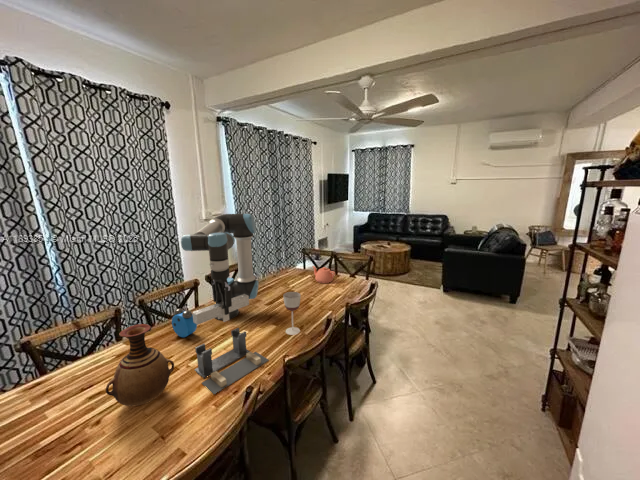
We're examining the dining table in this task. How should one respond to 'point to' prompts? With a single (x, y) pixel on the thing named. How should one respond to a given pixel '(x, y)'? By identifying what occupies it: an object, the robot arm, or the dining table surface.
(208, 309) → the rail
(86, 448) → the dining table surface
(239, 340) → the stand
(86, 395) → the dining table surface
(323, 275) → the teapot
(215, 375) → the rests
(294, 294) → the wineglass
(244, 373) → the mat
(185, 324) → the alarm clock
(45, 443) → the dining table surface
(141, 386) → the vase
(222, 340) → the dining table surface
